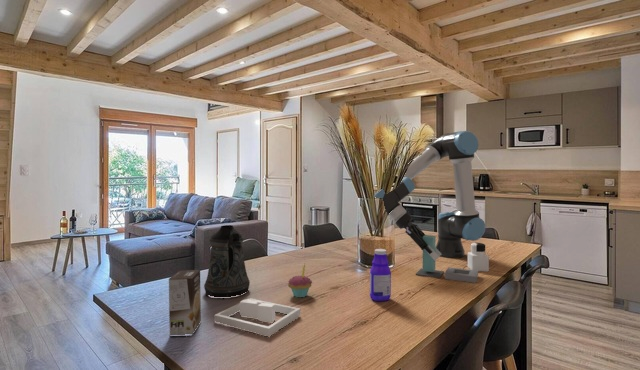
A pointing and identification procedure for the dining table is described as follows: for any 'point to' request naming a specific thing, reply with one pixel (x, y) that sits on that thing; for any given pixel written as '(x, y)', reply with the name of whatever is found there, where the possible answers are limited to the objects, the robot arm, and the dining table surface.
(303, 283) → the cupcake
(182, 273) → the coffee box
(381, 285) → the bottle
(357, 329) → the dining table surface
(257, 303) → the napkin holder
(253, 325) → the holder frame
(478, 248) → the medicine bottle
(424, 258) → the plug
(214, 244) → the beer stein
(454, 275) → the socket block
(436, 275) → the mat
